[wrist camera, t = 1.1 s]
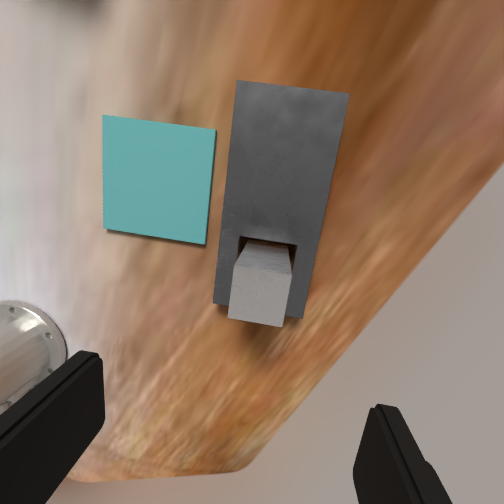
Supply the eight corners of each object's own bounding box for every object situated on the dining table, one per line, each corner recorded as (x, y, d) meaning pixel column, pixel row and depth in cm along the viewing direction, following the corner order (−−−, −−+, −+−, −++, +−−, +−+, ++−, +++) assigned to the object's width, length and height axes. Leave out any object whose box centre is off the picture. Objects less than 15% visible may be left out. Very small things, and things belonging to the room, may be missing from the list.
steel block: (280, 282, 30) (282, 327, 21) (243, 276, 30) (227, 317, 21) (287, 245, 29) (291, 275, 19) (248, 239, 29) (234, 265, 20)
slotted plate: (300, 308, 31) (302, 318, 28) (217, 294, 31) (212, 303, 29) (342, 102, 25) (349, 93, 23) (240, 90, 26) (237, 80, 23)
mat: (206, 243, 30) (204, 244, 29) (106, 227, 31) (103, 228, 30) (216, 130, 27) (215, 129, 26) (106, 116, 28) (102, 114, 27)
